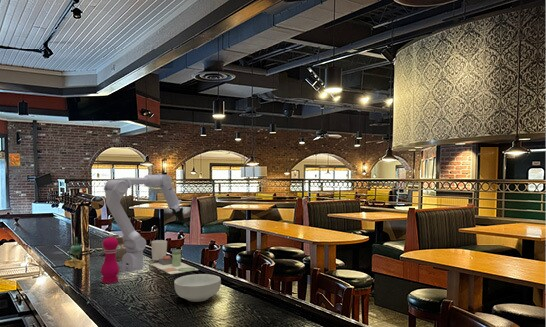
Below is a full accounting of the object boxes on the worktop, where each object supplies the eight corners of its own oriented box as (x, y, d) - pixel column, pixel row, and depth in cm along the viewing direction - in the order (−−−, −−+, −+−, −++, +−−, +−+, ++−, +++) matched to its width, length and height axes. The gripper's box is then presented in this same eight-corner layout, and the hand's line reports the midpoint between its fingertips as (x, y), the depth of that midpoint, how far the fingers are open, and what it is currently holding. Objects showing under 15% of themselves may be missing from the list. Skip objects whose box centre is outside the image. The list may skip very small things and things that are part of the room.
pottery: (110, 263, 206) (111, 239, 206) (99, 254, 226) (99, 232, 226) (133, 260, 212) (134, 237, 212) (120, 252, 233) (121, 231, 233)
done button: (171, 260, 201) (171, 256, 201) (164, 261, 199) (164, 257, 199) (168, 259, 204) (168, 255, 204) (161, 260, 202) (161, 256, 202)
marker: (178, 266, 195) (178, 251, 195) (170, 266, 196) (170, 250, 196) (182, 265, 199) (182, 249, 199) (174, 264, 200) (175, 248, 200)
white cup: (157, 263, 206) (157, 243, 206) (147, 261, 211) (148, 241, 211) (170, 260, 213) (170, 241, 213) (160, 258, 217) (160, 239, 217)
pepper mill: (112, 284, 168) (113, 235, 168) (96, 283, 169) (97, 234, 169) (122, 279, 175) (123, 232, 175) (107, 278, 176) (108, 232, 176)
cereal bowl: (200, 289, 163) (200, 271, 163) (230, 297, 152) (230, 278, 152) (164, 299, 149) (164, 279, 150) (194, 309, 139) (194, 288, 139)
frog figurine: (82, 260, 211) (84, 232, 210) (89, 271, 196) (91, 241, 195) (61, 262, 205) (63, 233, 204) (67, 274, 191) (69, 243, 190)
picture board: (199, 272, 189) (199, 265, 189) (170, 276, 181) (170, 269, 181) (176, 262, 209) (176, 256, 209) (149, 266, 200) (150, 259, 200)
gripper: (180, 196, 202) (190, 219, 207) (174, 188, 215) (184, 210, 220) (167, 203, 200) (177, 226, 205) (162, 194, 213) (172, 216, 218)
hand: (180, 218), depth 212 cm, fingers open, 7 cm apart
